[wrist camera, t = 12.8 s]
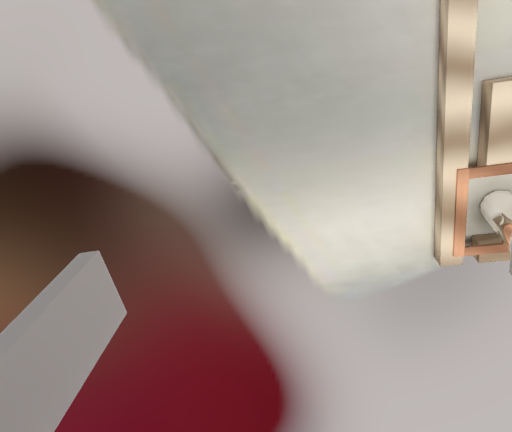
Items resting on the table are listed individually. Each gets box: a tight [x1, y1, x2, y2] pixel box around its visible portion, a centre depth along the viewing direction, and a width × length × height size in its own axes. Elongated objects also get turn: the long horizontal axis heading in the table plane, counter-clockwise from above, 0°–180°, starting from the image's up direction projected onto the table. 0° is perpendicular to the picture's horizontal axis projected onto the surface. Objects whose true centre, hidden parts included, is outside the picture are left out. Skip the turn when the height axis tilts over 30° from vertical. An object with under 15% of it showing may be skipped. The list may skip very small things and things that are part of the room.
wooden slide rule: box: [434, 0, 512, 266], centre depth 34 cm, size 28×12×2 cm, turn 10°
